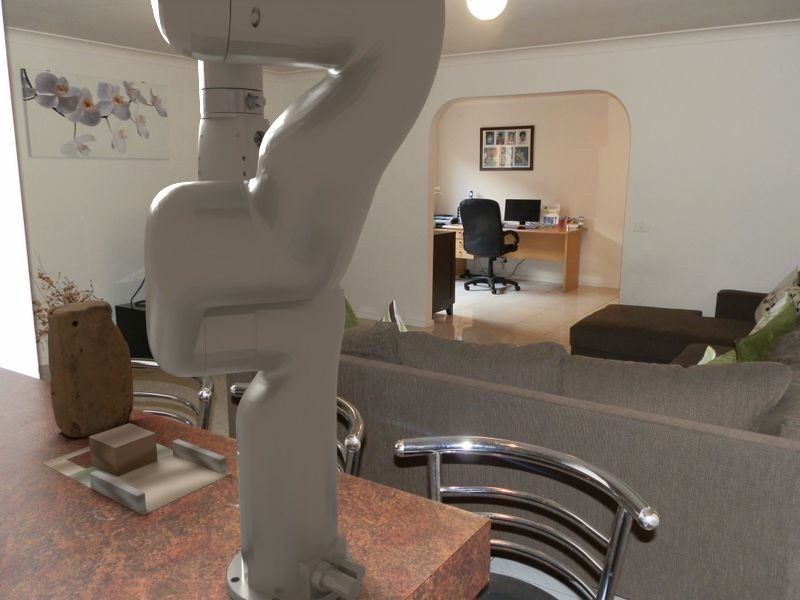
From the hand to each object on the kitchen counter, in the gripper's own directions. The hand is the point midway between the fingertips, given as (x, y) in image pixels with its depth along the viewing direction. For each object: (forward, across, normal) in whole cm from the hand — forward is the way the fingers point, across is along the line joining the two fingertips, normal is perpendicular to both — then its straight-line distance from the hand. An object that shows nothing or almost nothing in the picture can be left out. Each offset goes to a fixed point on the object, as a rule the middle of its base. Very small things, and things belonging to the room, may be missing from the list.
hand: (238, 256), depth 85 cm
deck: (+29, +10, +10) cm, 33 cm away
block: (+29, +30, +4) cm, 42 cm away
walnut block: (+28, +13, +10) cm, 33 cm away
